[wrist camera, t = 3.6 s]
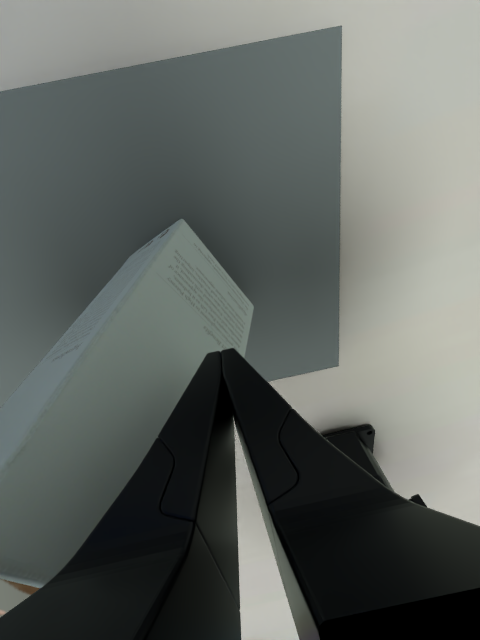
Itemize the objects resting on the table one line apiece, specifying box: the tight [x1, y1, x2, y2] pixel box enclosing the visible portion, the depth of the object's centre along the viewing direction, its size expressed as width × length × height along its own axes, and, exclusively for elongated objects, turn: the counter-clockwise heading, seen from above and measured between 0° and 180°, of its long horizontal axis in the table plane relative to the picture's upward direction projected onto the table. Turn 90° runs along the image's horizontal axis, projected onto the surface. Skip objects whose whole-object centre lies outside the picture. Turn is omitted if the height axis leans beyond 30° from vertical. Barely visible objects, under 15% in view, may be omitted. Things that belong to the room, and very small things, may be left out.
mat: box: [0, 26, 342, 408], centre depth 16 cm, size 18×24×1 cm
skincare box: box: [0, 219, 254, 588], centre depth 11 cm, size 6×4×12 cm
